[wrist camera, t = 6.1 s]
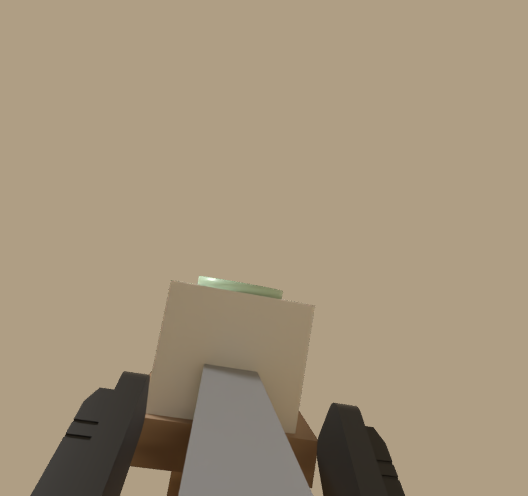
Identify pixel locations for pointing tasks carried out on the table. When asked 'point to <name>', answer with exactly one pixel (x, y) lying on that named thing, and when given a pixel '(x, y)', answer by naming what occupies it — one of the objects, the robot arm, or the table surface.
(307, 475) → the wooden pedestal stand
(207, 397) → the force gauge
